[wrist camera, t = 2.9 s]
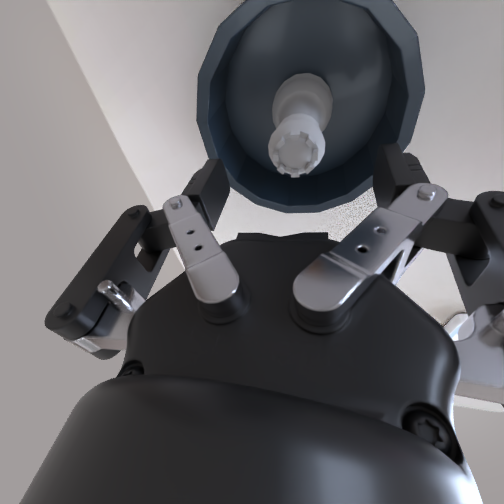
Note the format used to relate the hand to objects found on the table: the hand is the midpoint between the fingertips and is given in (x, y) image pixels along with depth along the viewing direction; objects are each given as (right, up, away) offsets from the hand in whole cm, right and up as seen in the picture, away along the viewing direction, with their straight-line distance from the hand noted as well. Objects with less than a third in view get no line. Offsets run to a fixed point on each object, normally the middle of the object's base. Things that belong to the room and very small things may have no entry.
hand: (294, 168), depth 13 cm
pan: (+2, +7, +6) cm, 9 cm away
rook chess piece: (+2, +7, +6) cm, 9 cm away
